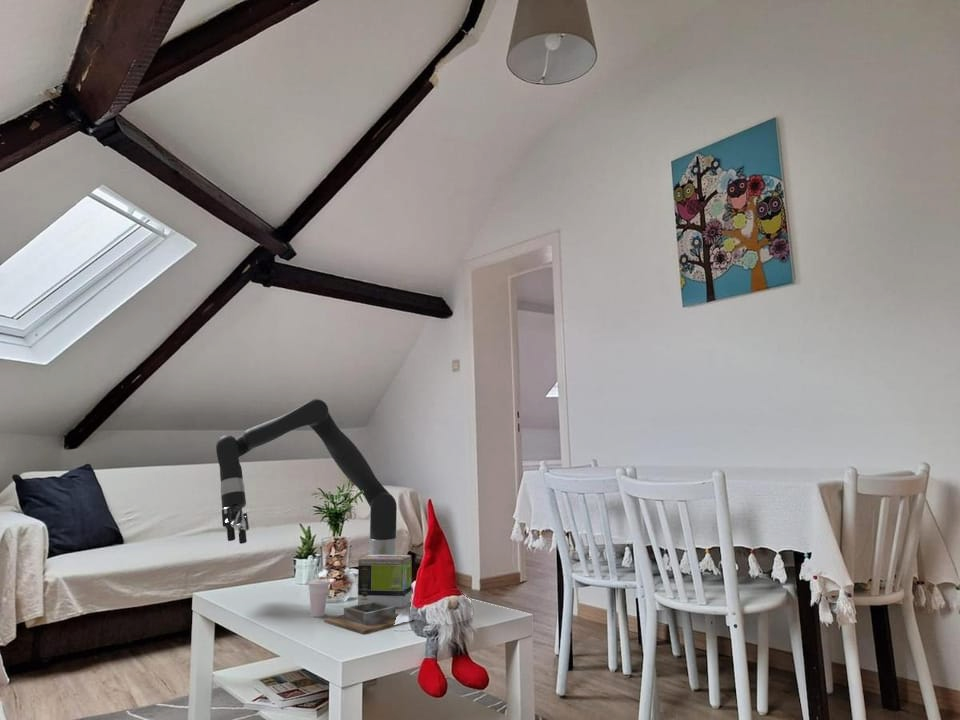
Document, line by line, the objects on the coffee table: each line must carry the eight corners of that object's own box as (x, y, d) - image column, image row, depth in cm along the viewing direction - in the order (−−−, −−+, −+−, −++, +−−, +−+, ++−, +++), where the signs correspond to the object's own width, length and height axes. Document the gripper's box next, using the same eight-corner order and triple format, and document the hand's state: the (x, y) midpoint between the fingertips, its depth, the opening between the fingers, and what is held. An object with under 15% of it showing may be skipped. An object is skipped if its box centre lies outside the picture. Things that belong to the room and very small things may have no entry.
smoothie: (311, 612, 186) (313, 564, 188) (332, 612, 185) (333, 564, 188) (303, 617, 180) (305, 568, 182) (324, 618, 179) (325, 568, 181)
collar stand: (375, 610, 188) (375, 597, 189) (414, 620, 176) (414, 606, 177) (324, 622, 175) (324, 608, 176) (362, 634, 163) (363, 619, 164)
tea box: (412, 601, 200) (412, 554, 202) (402, 609, 190) (403, 559, 192) (368, 599, 202) (369, 553, 204) (356, 607, 192) (357, 558, 195)
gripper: (234, 487, 201) (239, 536, 195) (252, 494, 214) (257, 541, 208) (212, 493, 201) (216, 542, 195) (231, 500, 214) (236, 546, 208)
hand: (237, 541), depth 202 cm, fingers open, 8 cm apart
